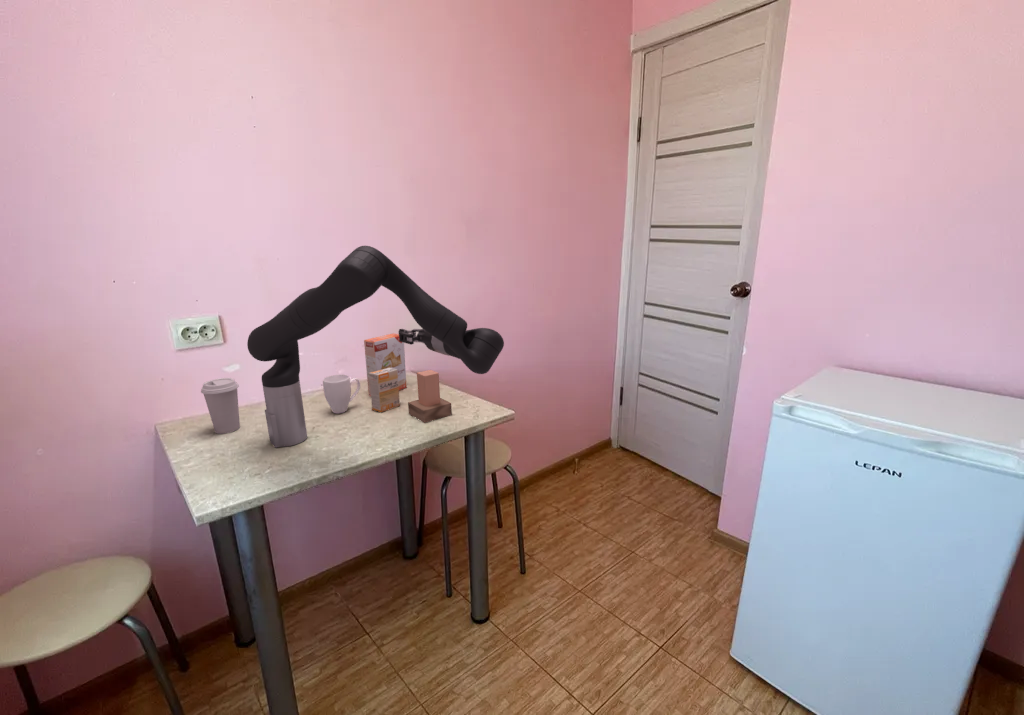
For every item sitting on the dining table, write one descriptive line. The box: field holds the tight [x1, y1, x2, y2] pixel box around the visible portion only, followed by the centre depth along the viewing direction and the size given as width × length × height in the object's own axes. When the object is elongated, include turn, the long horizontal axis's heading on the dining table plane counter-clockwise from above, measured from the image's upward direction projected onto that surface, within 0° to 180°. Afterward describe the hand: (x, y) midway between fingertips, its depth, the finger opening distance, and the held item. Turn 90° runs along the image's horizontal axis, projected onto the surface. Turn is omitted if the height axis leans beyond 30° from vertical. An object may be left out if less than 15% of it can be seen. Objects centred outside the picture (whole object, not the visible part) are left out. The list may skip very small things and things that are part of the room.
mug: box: [322, 374, 361, 414], centre depth 153 cm, size 12×8×11 cm
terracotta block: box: [416, 369, 441, 407], centre depth 147 cm, size 5×5×10 cm
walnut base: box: [407, 397, 453, 424], centre depth 149 cm, size 10×10×4 cm
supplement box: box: [369, 368, 401, 413], centre depth 154 cm, size 8×5×13 cm, turn 143°
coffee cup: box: [200, 377, 241, 435], centre depth 138 cm, size 10×10×15 cm
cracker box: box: [363, 332, 408, 397], centre depth 169 cm, size 14×6×21 cm, turn 147°
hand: (414, 330), depth 131 cm, fingers open, 8 cm apart
